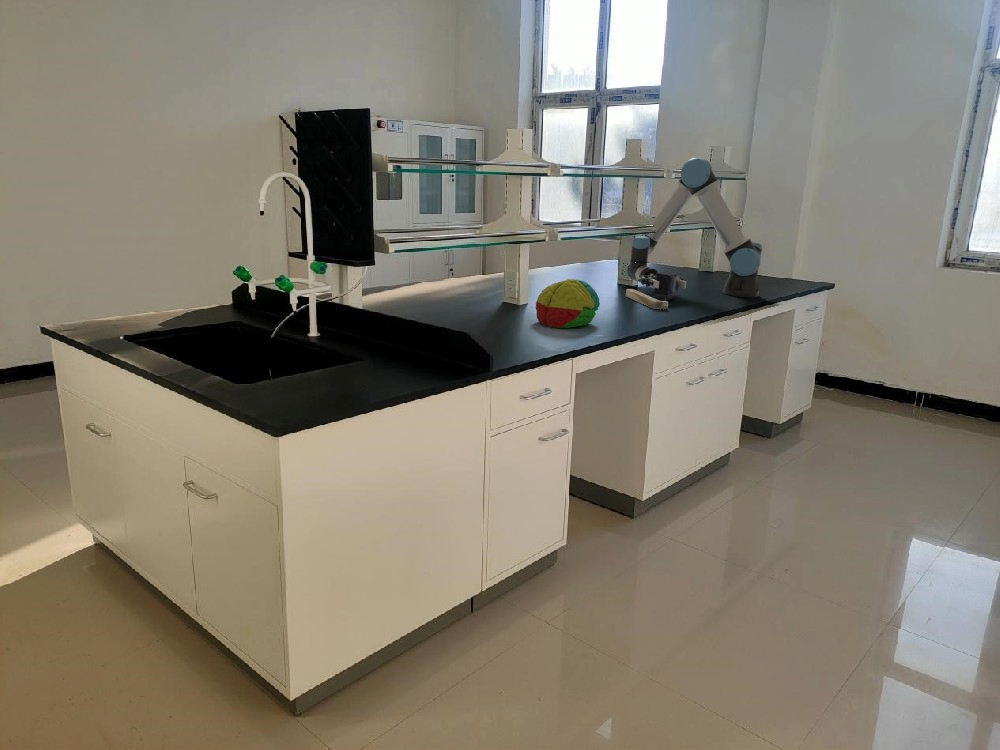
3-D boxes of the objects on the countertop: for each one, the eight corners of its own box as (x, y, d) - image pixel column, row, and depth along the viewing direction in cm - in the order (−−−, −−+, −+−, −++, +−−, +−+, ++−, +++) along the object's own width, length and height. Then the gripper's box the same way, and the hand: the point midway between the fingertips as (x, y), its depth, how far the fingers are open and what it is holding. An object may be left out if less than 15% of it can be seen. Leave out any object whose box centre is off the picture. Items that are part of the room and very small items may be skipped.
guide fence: (637, 296, 300) (638, 289, 300) (667, 309, 277) (668, 302, 276) (625, 296, 299) (626, 289, 298) (654, 309, 275) (655, 302, 274)
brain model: (568, 312, 259) (571, 271, 254) (611, 323, 246) (614, 280, 241) (523, 323, 243) (524, 279, 238) (565, 335, 230) (568, 289, 225)
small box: (667, 300, 290) (670, 275, 287) (652, 298, 294) (655, 272, 291) (678, 297, 298) (681, 272, 295) (663, 295, 302) (666, 270, 299)
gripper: (671, 284, 315) (696, 294, 295) (621, 284, 309) (643, 294, 289) (673, 267, 313) (699, 276, 293) (623, 266, 307) (646, 275, 287)
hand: (671, 285), depth 291 cm, fingers closed on small box, 11 cm apart
